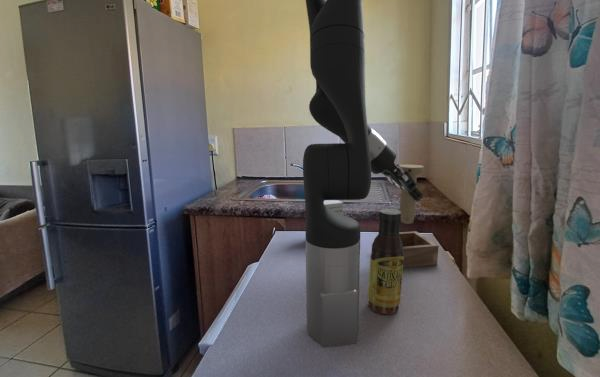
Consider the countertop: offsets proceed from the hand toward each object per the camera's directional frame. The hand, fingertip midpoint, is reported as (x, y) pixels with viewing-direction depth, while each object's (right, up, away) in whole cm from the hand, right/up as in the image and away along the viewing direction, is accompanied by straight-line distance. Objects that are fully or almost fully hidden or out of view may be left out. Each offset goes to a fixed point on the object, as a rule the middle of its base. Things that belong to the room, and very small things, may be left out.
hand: (415, 196), depth 89 cm
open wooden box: (-2, -16, +3) cm, 17 cm away
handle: (-2, -7, +1) cm, 7 cm away
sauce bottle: (-13, -22, -21) cm, 33 cm away
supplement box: (-22, -14, +17) cm, 31 cm away
